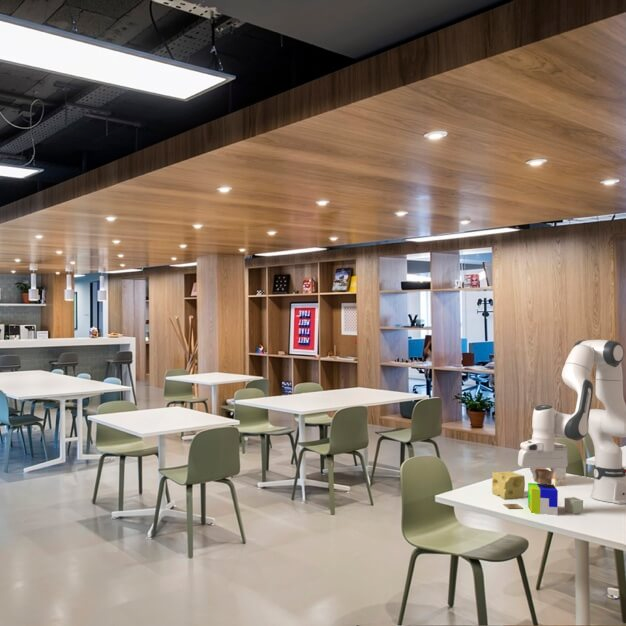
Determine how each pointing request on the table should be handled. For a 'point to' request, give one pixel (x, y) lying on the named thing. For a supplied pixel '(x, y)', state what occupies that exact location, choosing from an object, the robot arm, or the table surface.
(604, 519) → the table surface
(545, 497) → the puzzle toy
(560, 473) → the coffeecake box
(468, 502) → the table surface
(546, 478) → the walnut block
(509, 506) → the swatch tile
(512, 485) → the cheese
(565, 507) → the sage block
